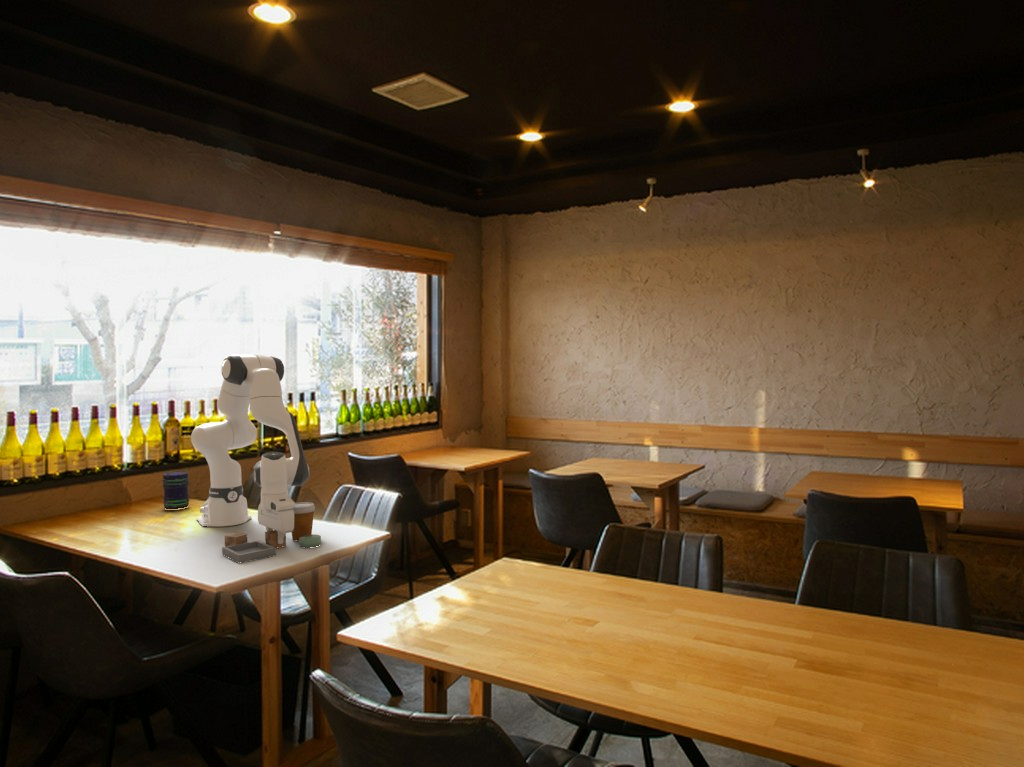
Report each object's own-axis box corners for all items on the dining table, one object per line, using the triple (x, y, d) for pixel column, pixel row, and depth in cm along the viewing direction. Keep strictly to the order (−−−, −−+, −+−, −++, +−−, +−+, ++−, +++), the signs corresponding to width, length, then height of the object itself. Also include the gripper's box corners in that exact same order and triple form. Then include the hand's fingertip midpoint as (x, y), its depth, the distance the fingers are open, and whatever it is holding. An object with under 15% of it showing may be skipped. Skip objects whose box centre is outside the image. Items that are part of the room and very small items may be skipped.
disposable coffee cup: (319, 535, 263) (319, 502, 262) (310, 542, 253) (309, 508, 253) (294, 535, 264) (293, 501, 263) (283, 542, 254) (282, 507, 254)
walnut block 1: (225, 550, 245) (224, 535, 245) (236, 546, 249) (236, 532, 249) (235, 552, 243) (235, 537, 242) (247, 548, 247) (247, 533, 247)
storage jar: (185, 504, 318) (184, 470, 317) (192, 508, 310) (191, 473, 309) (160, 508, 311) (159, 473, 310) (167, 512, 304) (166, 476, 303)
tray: (222, 554, 239) (222, 547, 239) (258, 547, 247) (258, 540, 247) (238, 563, 230) (238, 555, 230) (275, 555, 238) (275, 547, 238)
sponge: (296, 545, 250) (295, 536, 250) (315, 542, 255) (315, 533, 255) (305, 549, 245) (305, 540, 245) (324, 546, 250) (324, 537, 250)
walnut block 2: (265, 546, 249) (265, 531, 249) (279, 543, 252) (279, 529, 252) (272, 549, 245) (271, 534, 245) (286, 546, 249) (285, 531, 249)
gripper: (252, 497, 254) (253, 537, 254) (279, 506, 239) (280, 549, 239) (270, 495, 258) (271, 534, 259) (297, 503, 243) (298, 545, 244)
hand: (275, 541), depth 249 cm, fingers closed on walnut block 2, 5 cm apart
